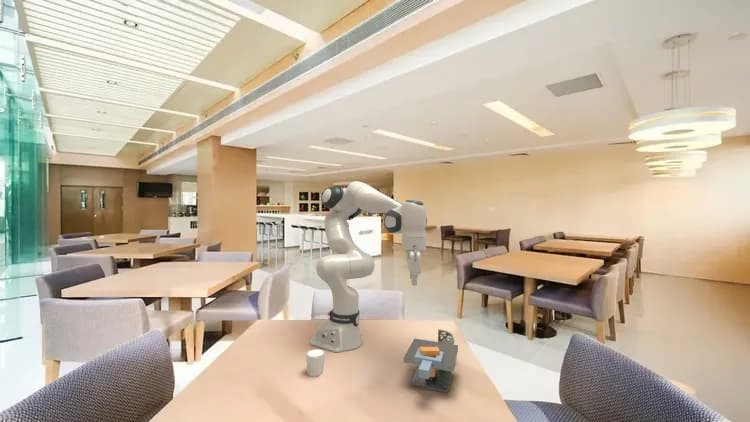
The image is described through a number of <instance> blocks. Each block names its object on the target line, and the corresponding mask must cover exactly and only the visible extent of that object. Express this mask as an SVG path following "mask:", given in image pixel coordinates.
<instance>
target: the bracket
mask: <svg viewBox="0 0 750 422" xmlns="http://www.w3.org/2000/svg"><path fill="white" fill-rule="evenodd" d="M443 357H444V352H442V351H440V356H436V358H434V357H428V356H421V353H420V348H418V350H417V352H416V354H415V356H414V361H415V362H421V365H419V366H420V367H419V377H420V378H425V379H429V377H430V374H431V371H432V365H437V366H441V364H442V360H443Z"/></svg>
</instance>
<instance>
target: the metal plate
mask: <svg viewBox="0 0 750 422" xmlns="http://www.w3.org/2000/svg"><path fill="white" fill-rule="evenodd" d="M420 347H438V348H439V350H440V351H442V352H444V357H443V360H442V364H441V366H437V365H432V368H435V377H429V379H425V378H420V377H419V367H420V365H421V362H415V361H414V356H415V354H416V352H417V350H418V348H420ZM458 351H459V345H457V344H446V343H440V342H438V341H432V340H427V339H421V338H413V341H412V342H411V344H410V346H409V347H408V349H407V350H406V353H405V354H404V356H403V363H405V364H410V365H411V364H412V365H416V366H417V368H416V370H415V373H414V374H413V377H412V378H411V382H410V387H414V388H419V389H424V390H428V391H432V392H437V393H442V394H446V395H447V394H448V392H449V388H450V384H451V379H452V372H454V370H455V366H456V362H457V356H458ZM435 358H436V356H435Z"/></svg>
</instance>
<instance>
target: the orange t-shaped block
mask: <svg viewBox="0 0 750 422" xmlns="http://www.w3.org/2000/svg"><path fill="white" fill-rule="evenodd" d="M420 353H421V356H428V357H434V358H435V356H440V350H439V348H438V347H420ZM430 377H435V368H432V371H431V374H430Z"/></svg>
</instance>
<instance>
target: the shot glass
mask: <svg viewBox="0 0 750 422" xmlns="http://www.w3.org/2000/svg"><path fill="white" fill-rule="evenodd" d="M325 356H326V351H325V349H323V348H313V349H310V350H308V351H307V352H305V358H306V359H305V360H306V371H307V375H308V376H310V377H318V376H322V375H323V373H324V370H325V369H324V367H325V358H326V357H325Z"/></svg>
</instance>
